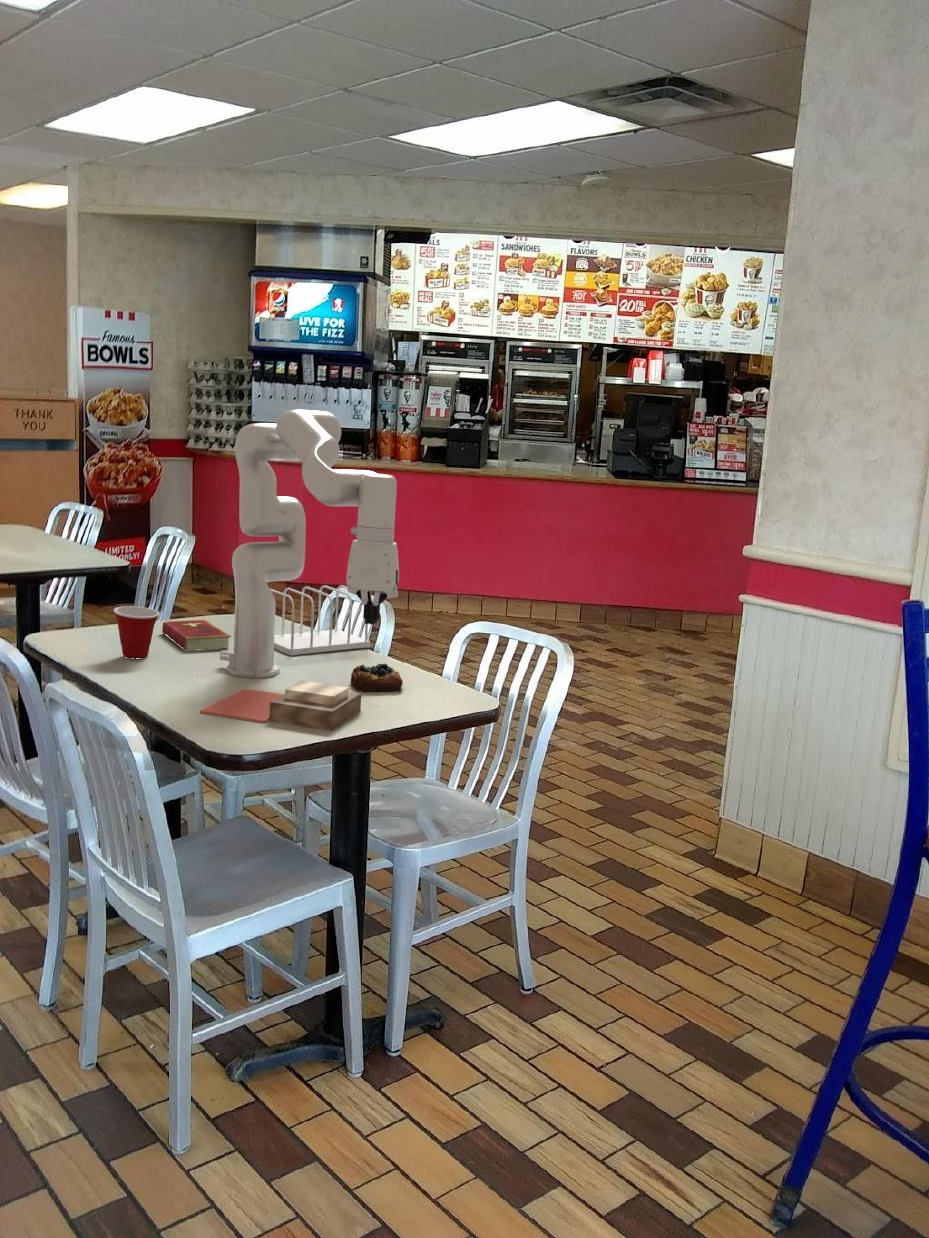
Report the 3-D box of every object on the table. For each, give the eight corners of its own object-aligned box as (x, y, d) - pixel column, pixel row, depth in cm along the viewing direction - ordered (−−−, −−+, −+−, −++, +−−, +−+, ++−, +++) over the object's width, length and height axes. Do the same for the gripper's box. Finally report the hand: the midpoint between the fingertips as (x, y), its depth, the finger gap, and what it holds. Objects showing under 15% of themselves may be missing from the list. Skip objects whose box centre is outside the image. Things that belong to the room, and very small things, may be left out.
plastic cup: (147, 664, 259) (147, 615, 257) (105, 659, 261) (105, 611, 259) (166, 654, 270) (167, 608, 268) (126, 650, 272) (126, 604, 269)
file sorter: (337, 635, 307) (340, 582, 303) (370, 648, 293) (373, 592, 290) (258, 642, 291) (260, 586, 288) (290, 656, 278) (292, 597, 275)
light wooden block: (284, 698, 224) (285, 689, 224) (300, 689, 232) (301, 680, 232) (333, 705, 222) (333, 696, 221) (348, 696, 229) (348, 687, 229)
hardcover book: (185, 653, 275) (185, 637, 274) (162, 635, 292) (162, 620, 292) (230, 650, 281) (230, 634, 280) (205, 633, 299) (205, 618, 298)
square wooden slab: (269, 720, 222) (269, 701, 221) (301, 701, 237) (302, 684, 236) (331, 730, 218) (332, 711, 217) (360, 710, 233) (361, 693, 233)
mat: (200, 712, 224) (200, 710, 224) (244, 690, 243) (245, 688, 243) (264, 722, 220) (264, 720, 220) (304, 699, 239) (305, 697, 239)
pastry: (346, 682, 257) (347, 658, 256) (394, 681, 262) (395, 657, 260) (357, 694, 247) (358, 669, 246) (406, 693, 251) (408, 668, 250)
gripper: (334, 533, 216) (330, 622, 219) (404, 540, 212) (399, 630, 216) (348, 530, 223) (344, 616, 227) (416, 536, 219) (411, 624, 223)
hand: (371, 623), depth 221 cm, fingers closed
